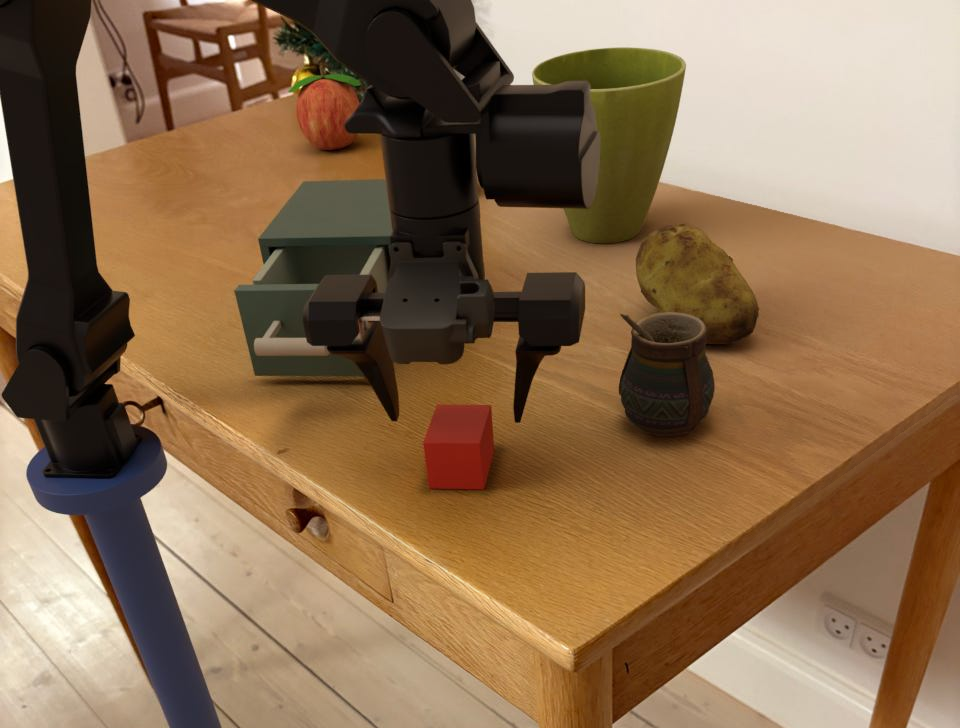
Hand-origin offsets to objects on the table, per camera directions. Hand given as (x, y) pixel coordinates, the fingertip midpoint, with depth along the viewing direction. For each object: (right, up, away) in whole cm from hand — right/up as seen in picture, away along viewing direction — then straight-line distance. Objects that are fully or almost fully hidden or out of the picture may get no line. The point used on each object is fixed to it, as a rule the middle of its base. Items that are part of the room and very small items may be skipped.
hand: (456, 419), depth 77 cm
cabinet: (-10, +17, +26) cm, 33 cm away
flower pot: (+16, +28, +36) cm, 48 cm away
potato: (+21, +12, +18) cm, 30 cm away
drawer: (-12, +10, +17) cm, 23 cm away
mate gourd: (+16, +1, +6) cm, 17 cm away
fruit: (-18, +51, +66) cm, 85 cm away
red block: (0, -3, +3) cm, 4 cm away
